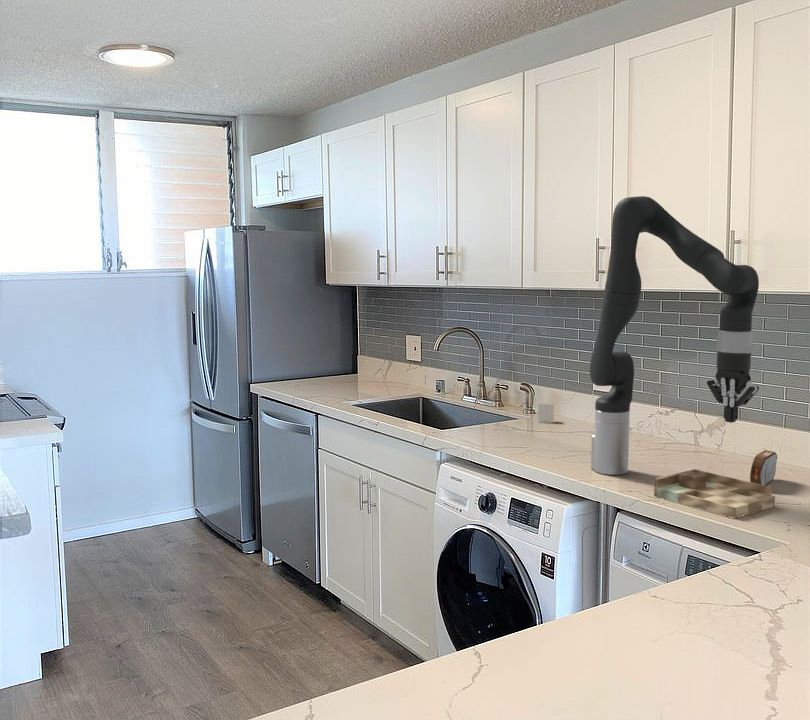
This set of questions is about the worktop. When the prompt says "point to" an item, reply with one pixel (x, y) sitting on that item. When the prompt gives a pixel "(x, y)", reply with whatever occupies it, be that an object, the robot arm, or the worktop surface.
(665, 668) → the worktop surface
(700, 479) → the block
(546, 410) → the grey square slab
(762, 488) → the tray
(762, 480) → the tin
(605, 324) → the robot arm
